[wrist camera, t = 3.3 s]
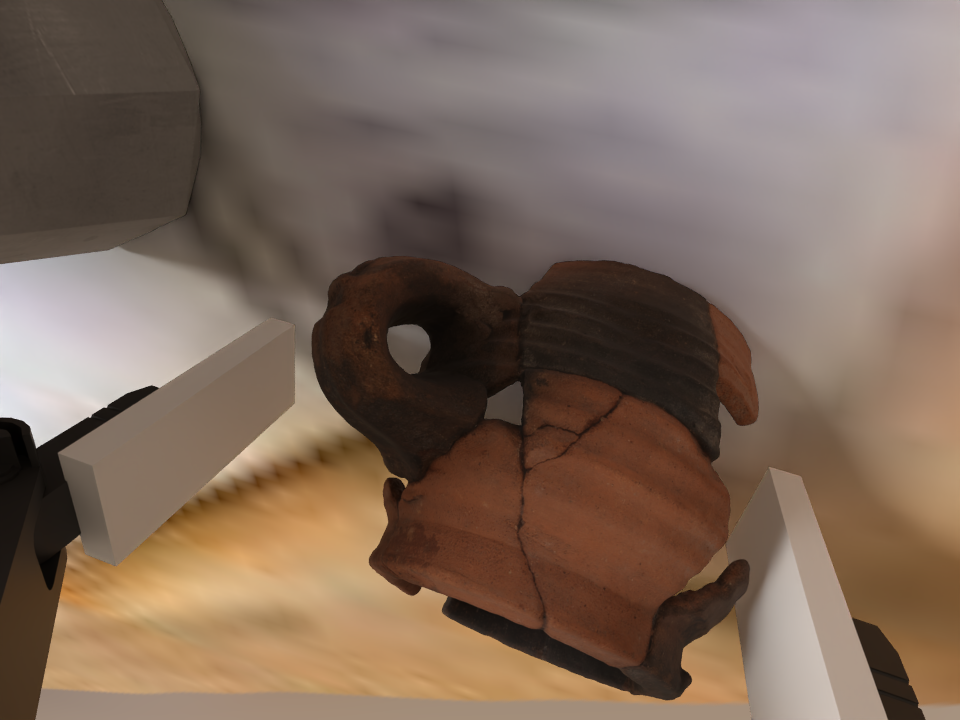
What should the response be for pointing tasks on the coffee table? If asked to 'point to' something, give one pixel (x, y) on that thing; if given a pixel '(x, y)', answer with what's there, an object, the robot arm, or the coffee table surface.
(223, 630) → the coffee table surface
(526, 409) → the pottery mug
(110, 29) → the coffeepot
